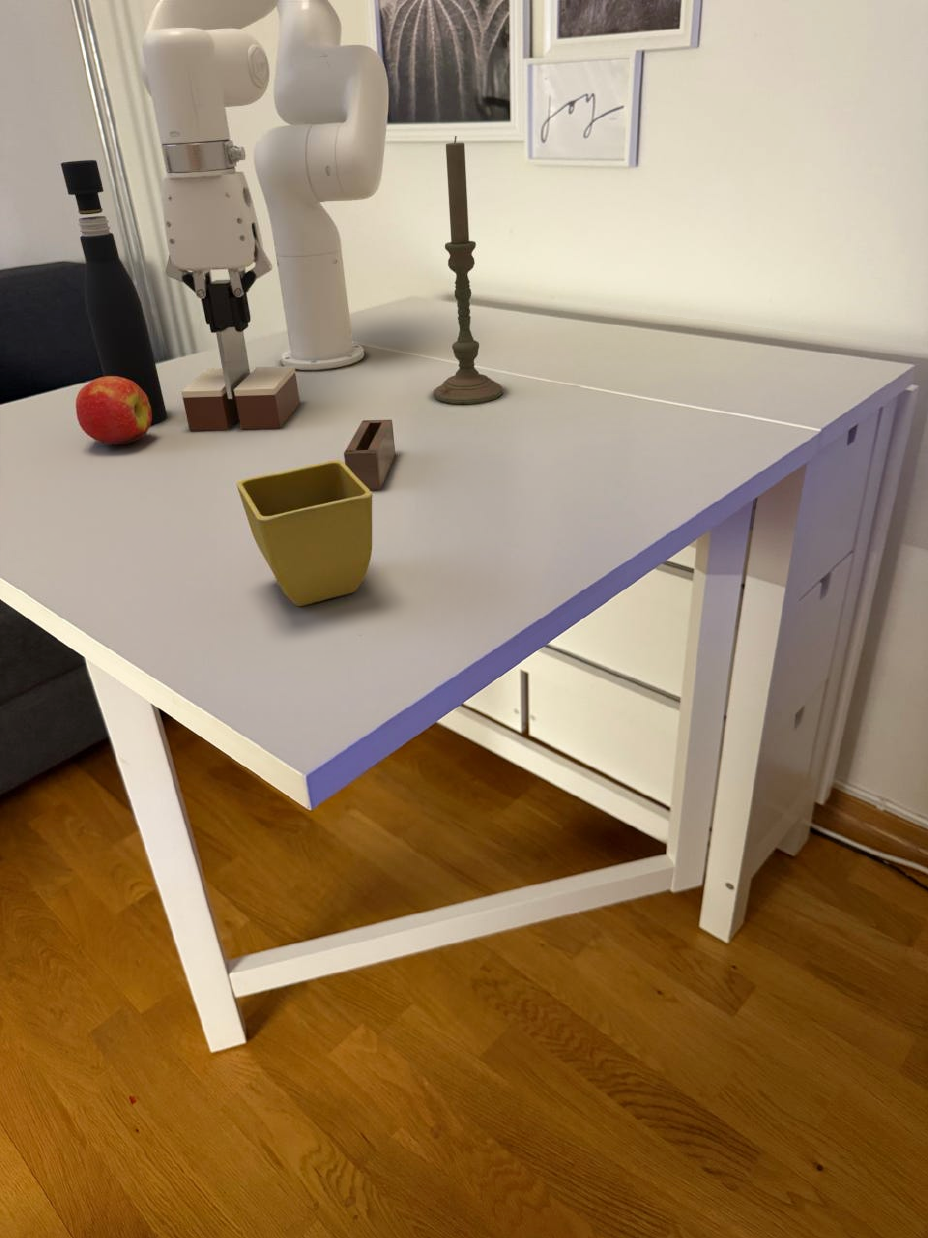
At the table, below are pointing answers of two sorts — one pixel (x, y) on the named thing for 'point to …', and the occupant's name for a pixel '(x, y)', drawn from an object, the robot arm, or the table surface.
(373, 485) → the knife block
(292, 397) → the cake slice
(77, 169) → the wine bottle
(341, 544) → the flower pot
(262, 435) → the table surface
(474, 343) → the candlestick holder
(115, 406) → the apple
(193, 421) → the cake
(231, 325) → the knife
